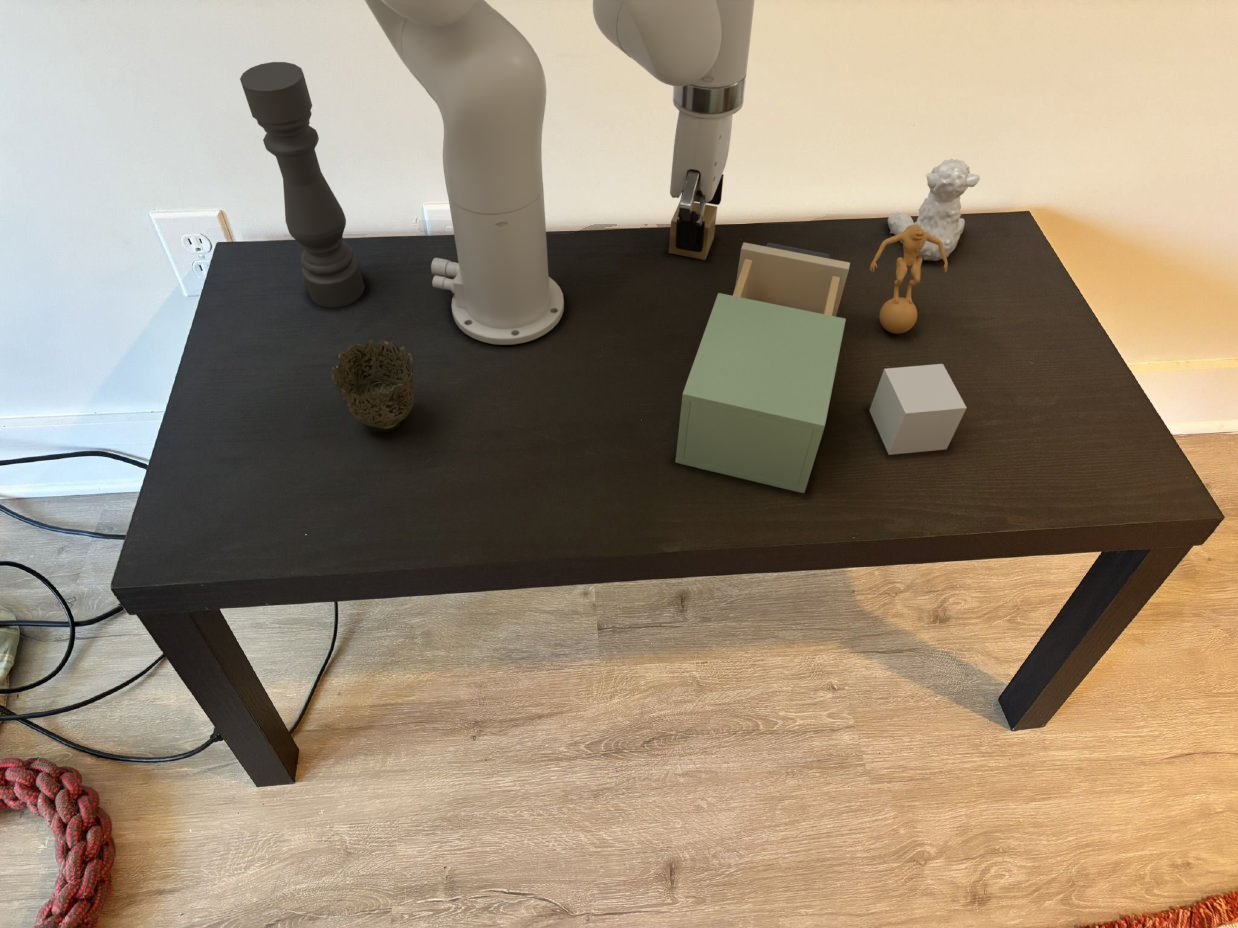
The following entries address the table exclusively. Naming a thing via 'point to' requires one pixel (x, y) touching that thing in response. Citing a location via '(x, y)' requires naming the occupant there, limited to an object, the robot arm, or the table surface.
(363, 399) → the cup
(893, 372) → the white cube
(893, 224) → the white creature statuette
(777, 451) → the cabinet
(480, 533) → the table surface
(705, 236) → the block
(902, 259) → the figurine
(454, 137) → the robot arm
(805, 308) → the drawer
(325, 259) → the candle holder
